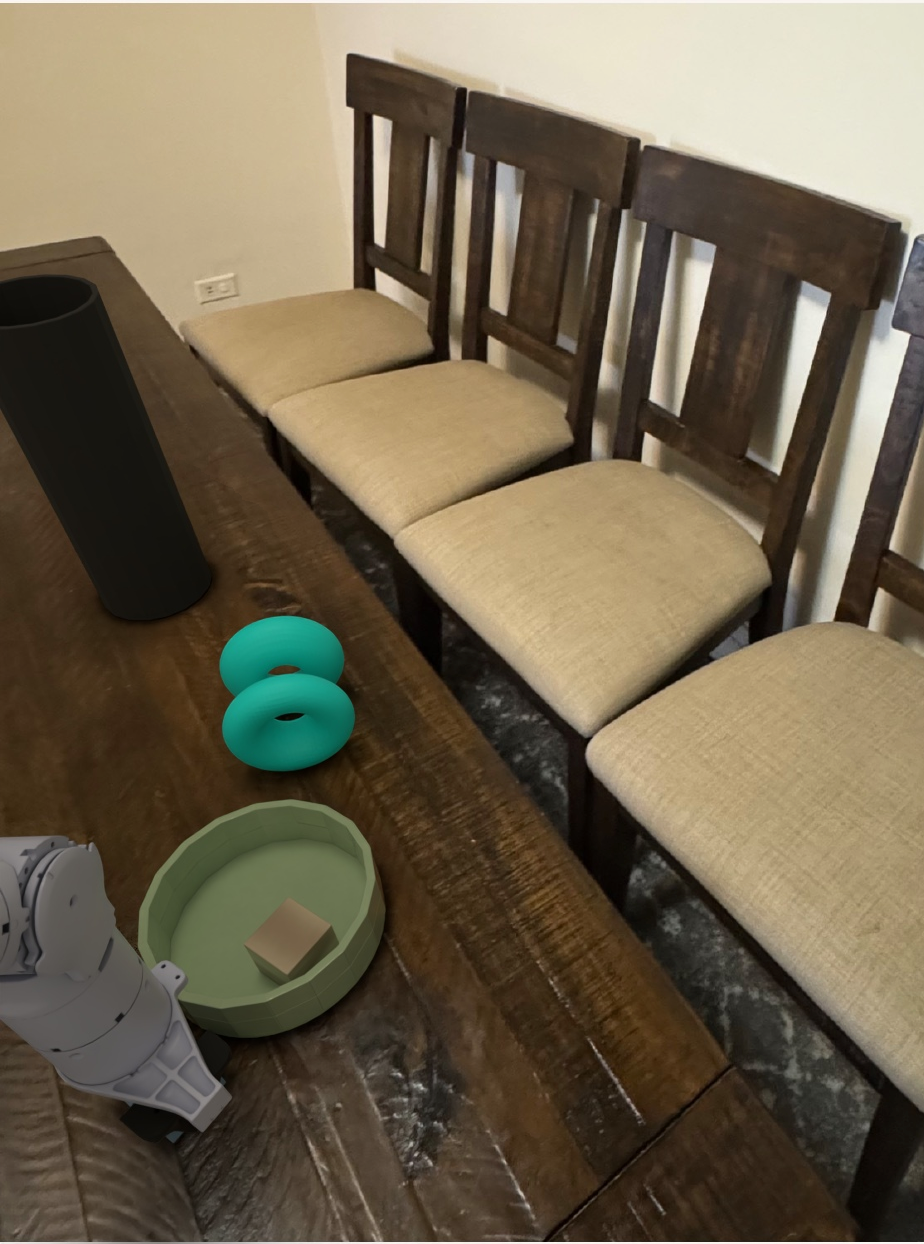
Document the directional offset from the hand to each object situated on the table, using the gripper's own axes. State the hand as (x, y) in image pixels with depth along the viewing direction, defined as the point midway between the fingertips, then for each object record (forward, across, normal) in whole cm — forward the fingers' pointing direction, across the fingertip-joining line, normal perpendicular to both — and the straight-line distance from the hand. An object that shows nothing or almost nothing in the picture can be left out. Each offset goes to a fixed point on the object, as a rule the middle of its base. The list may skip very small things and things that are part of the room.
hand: (171, 1086), depth 53 cm
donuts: (+2, +15, -25) cm, 29 cm away
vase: (+2, +41, -31) cm, 51 cm away
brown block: (+1, 0, -10) cm, 10 cm away
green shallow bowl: (+1, +3, -11) cm, 11 cm away
